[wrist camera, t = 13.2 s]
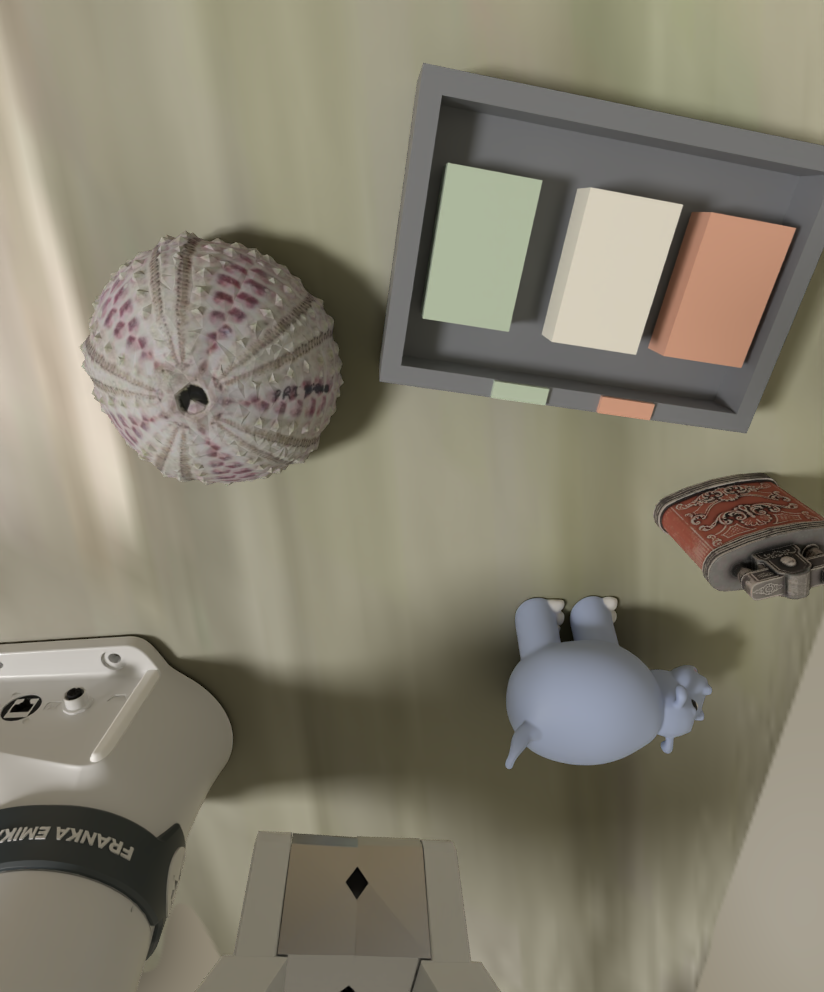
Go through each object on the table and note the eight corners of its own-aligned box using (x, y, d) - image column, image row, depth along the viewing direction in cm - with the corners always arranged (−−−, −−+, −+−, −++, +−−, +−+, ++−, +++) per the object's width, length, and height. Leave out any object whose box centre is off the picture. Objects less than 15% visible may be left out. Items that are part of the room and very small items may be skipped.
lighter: (655, 537, 41) (733, 628, 32) (651, 494, 40) (731, 578, 31) (771, 507, 41) (884, 591, 32) (772, 463, 39) (889, 539, 30)
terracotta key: (647, 348, 34) (663, 355, 32) (691, 212, 31) (711, 212, 29) (721, 359, 34) (741, 368, 32) (771, 226, 31) (796, 228, 29)
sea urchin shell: (212, 173, 31) (162, 162, 23) (394, 365, 35) (399, 405, 28) (60, 352, 34) (-25, 391, 27) (245, 505, 39) (215, 573, 32)
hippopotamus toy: (661, 703, 48) (723, 809, 40) (477, 709, 48) (499, 819, 39) (689, 592, 44) (766, 685, 35) (486, 596, 43) (514, 693, 34)
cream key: (541, 334, 32) (551, 341, 30) (577, 188, 29) (590, 187, 27) (621, 346, 32) (635, 354, 31) (664, 205, 30) (683, 204, 28)
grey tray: (378, 363, 35) (379, 382, 31) (417, 80, 29) (423, 61, 25) (710, 411, 38) (749, 435, 34) (807, 160, 32) (867, 153, 28)
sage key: (420, 312, 32) (422, 318, 30) (443, 165, 29) (448, 162, 27) (501, 325, 33) (508, 331, 31) (532, 182, 30) (542, 180, 28)
